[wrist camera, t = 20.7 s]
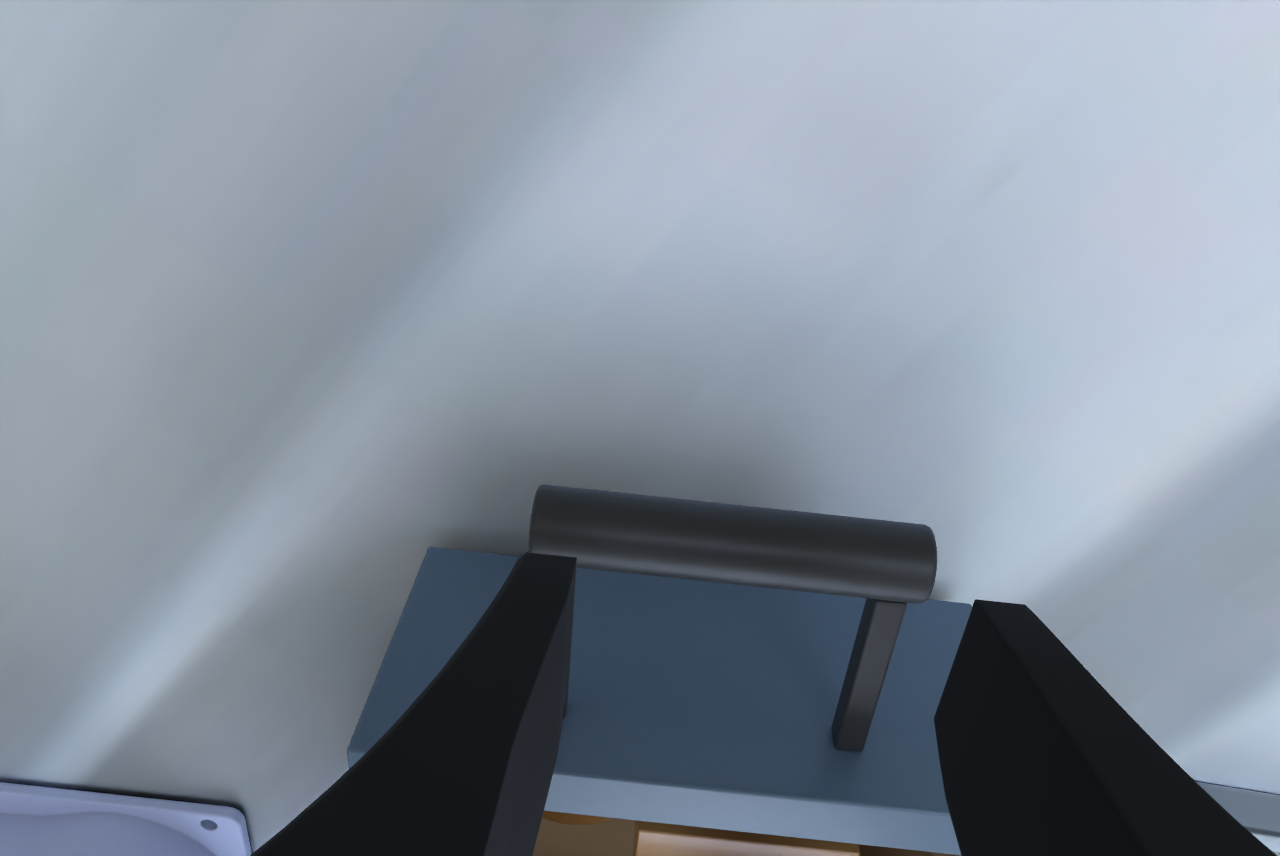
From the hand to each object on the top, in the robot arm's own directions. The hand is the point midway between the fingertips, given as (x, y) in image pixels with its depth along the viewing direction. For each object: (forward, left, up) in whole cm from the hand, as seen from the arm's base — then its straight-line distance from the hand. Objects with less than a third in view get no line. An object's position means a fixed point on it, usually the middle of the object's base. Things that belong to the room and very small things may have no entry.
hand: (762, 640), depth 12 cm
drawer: (0, -10, -10) cm, 14 cm away
